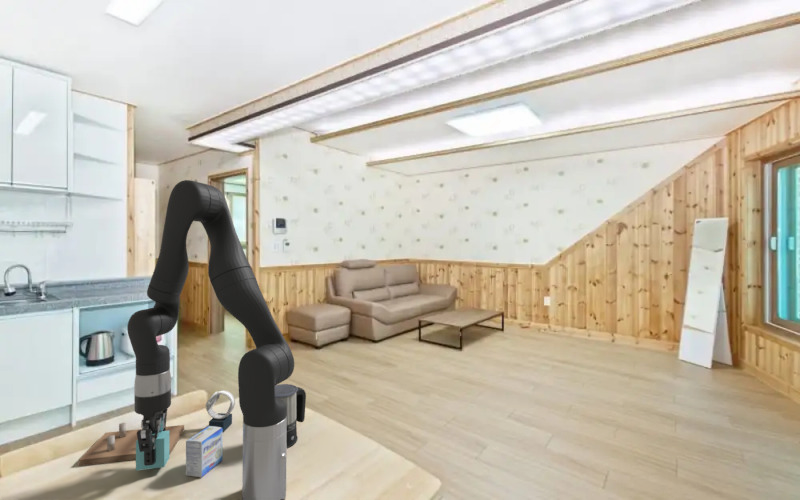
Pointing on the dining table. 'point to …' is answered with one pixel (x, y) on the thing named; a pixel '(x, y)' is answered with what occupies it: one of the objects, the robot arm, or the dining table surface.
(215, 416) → the silver ring on block
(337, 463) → the dining table surface
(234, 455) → the dining table surface
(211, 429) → the medicine box
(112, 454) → the stub board
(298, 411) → the milk frother
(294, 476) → the dining table surface
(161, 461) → the block
